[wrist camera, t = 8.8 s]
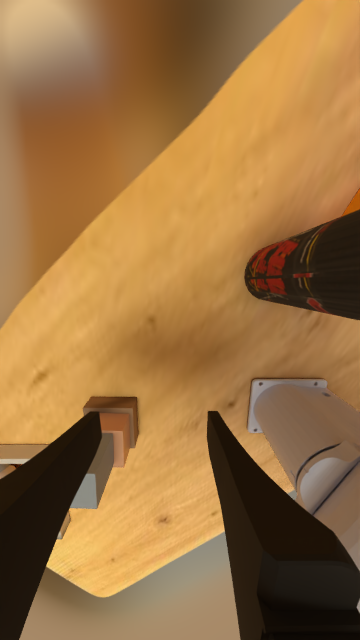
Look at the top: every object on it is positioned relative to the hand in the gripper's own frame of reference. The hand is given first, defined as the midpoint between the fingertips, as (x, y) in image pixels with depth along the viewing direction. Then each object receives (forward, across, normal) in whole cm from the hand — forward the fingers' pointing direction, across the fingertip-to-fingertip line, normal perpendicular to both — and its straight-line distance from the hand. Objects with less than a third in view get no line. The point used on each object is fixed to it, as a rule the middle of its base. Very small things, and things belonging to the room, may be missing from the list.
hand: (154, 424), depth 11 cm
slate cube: (+6, +8, +9) cm, 13 cm away
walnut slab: (+11, +7, +9) cm, 16 cm away
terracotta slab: (+8, +7, +9) cm, 14 cm away
